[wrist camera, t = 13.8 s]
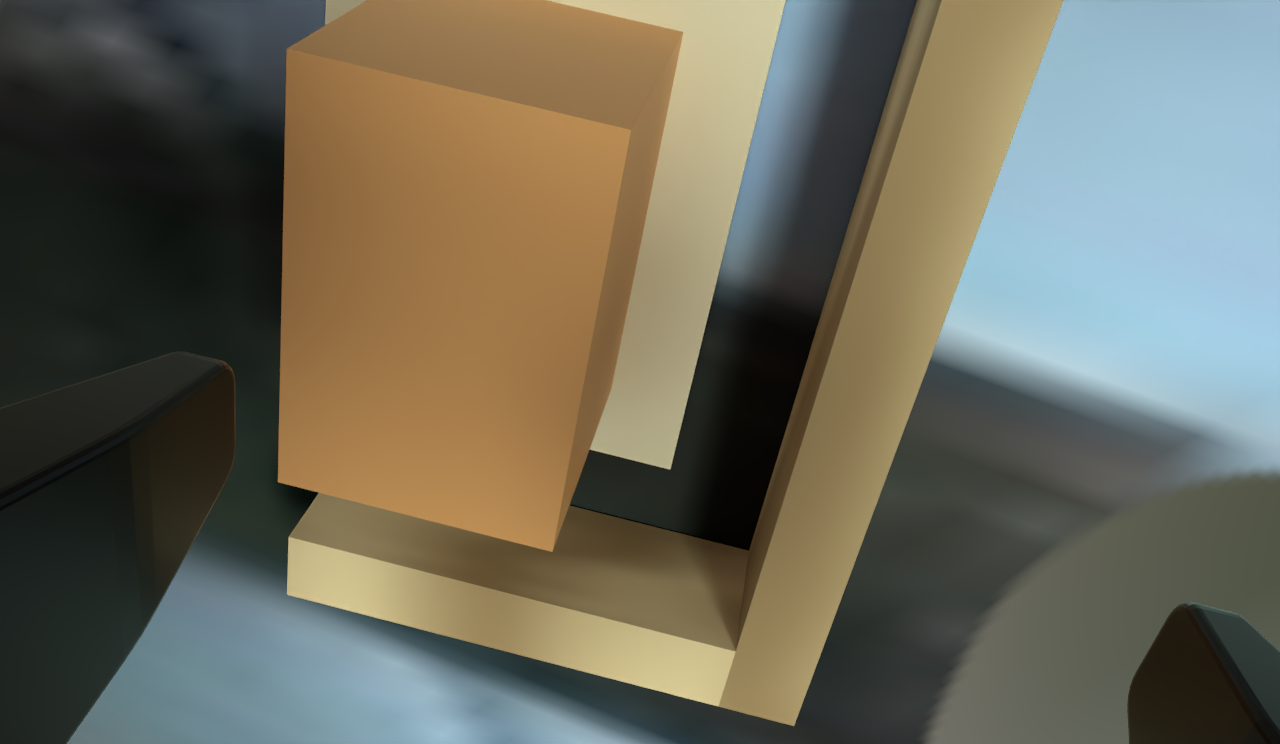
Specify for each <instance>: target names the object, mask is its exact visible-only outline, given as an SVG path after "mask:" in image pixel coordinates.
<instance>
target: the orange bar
mask: <svg viewBox="0 0 1280 744" xmlns="http://www.w3.org/2000/svg"><path fill="white" fill-rule="evenodd" d="M682 37H683V32H682V31H677V30H673V29H669V28H664V27H660V26H656V25H651V24H647V23H643V22H638V21H634V20H630V19H625V18H621V17H617V16H612V15H608V14H604V13H599V12H595V11H591V10H587V9H582V8H578V7H574V6H569V5H565V4H561V3H556V2H552V1H548V0H366V1H365V2H363V3H361V4H360V5H358V6H356V7H355V8H353V9H351V10H350V11H348V12H346V13H345V14H343V15H342V16H340V17H338V18H337V19H335V20H333V21H332V22H330V23H328V24H327V25H325V26H323V27H322V28H320V29H318V30H317V31H315V32H313V33H312V34H310V35H308V36H307V37H305V38H303V39H302V40H300V41H298V42H297V43H295V44H293V45H292V46H290V47H289V48H287V54H286V104H285V154H284V203H283V253H282V303H281V353H280V402H279V452H278V482H279V483H283V484H287V485H291V486H295V487H299V488H303V489H307V490H311V491H315V492H319V493H322V494H326V495H330V496H334V497H338V498H342V499H346V500H350V501H354V502H358V503H362V504H366V505H370V506H374V507H378V508H381V509H385V510H389V511H393V512H397V513H401V514H405V515H409V516H413V517H417V518H421V519H425V520H429V521H433V522H436V523H440V524H444V525H448V526H452V527H456V528H460V529H464V530H468V531H472V532H476V533H480V534H484V535H488V536H492V537H495V538H499V539H503V540H507V541H511V542H515V543H519V544H523V545H527V546H531V547H535V548H539V549H543V550H547V551H550V552H553V549H554V546H555V544H556V541H557V538H558V535H559V532H560V530H561V527H562V524H563V521H564V519H565V516H566V513H567V510H568V508H569V505H570V502H571V499H572V497H573V494H574V491H575V488H576V485H577V483H578V480H579V477H580V474H581V472H582V469H583V466H584V463H585V461H586V458H587V455H588V452H589V450H590V447H591V444H592V441H593V439H594V436H595V433H596V430H597V427H598V425H599V422H600V419H601V416H602V414H603V411H604V408H605V405H606V403H607V400H608V397H609V394H610V392H611V388H612V383H613V379H614V374H615V369H616V364H617V359H618V354H619V349H620V344H621V339H622V334H623V329H624V324H625V319H626V314H627V309H628V304H629V299H630V294H631V289H632V285H633V280H634V275H635V270H636V265H637V260H638V255H639V250H640V245H641V240H642V235H643V230H644V225H645V220H646V215H647V210H648V205H649V200H650V195H651V191H652V186H653V181H654V176H655V171H656V166H657V161H658V156H659V151H660V146H661V141H662V136H663V131H664V126H665V121H666V116H667V111H668V106H669V101H670V97H671V92H672V87H673V82H674V77H675V72H676V67H677V62H678V57H679V52H680V47H681V42H682Z"/></svg>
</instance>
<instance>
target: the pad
mask: <svg viewBox="0 0 1280 744" xmlns="http://www.w3.org/2000/svg"><path fill="white" fill-rule="evenodd" d="M365 1H366V0H326V11H325V25H327V24H328V23H330V22H332V21H333V20H335V19H337V18H338V17H340V16H342V15H343V14H345V13H346V12H348V11H350V10H351V9H353V8H355V7H356V6H358V5H360V4H361V3H363V2H365ZM548 1H552V2H556V3H561V4H565V5H569V6H574V7H578V8H582V9H587V10H591V11H595V12H599V13H604V14H608V15H612V16H617V17H621V18H625V19H630V20H634V21H638V22H643V23H647V24H651V25H656V26H660V27H664V28H669V29H673V30H677V31H682V32H683V37H682V42H681V47H680V52H679V57H678V62H677V67H676V72H675V77H674V82H673V87H672V92H671V97H670V101H669V106H668V111H667V116H666V121H665V126H664V131H663V136H662V141H661V146H660V151H659V156H658V161H657V166H656V171H655V176H654V181H653V186H652V191H651V195H650V200H649V205H648V210H647V215H646V220H645V225H644V230H643V235H642V240H641V245H640V250H639V255H638V260H637V265H636V270H635V275H634V280H633V285H632V289H631V294H630V299H629V304H628V309H627V314H626V319H625V324H624V329H623V334H622V339H621V344H620V349H619V354H618V359H617V364H616V369H615V374H614V379H613V383H612V388H611V392H610V394H609V397H608V400H607V403H606V405H605V408H604V411H603V414H602V416H601V419H600V422H599V425H598V427H597V430H596V433H595V436H594V439H593V441H592V444H591V447H590V450H594V451H598V452H602V453H606V454H610V455H614V456H618V457H622V458H626V459H630V460H634V461H638V462H642V463H646V464H650V465H654V466H658V467H662V468H666V469H671V465H672V461H673V457H674V453H675V449H676V445H677V441H678V437H679V432H680V428H681V424H682V420H683V416H684V412H685V408H686V404H687V400H688V396H689V392H690V388H691V384H692V380H693V375H694V371H695V367H696V363H697V359H698V355H699V351H700V347H701V343H702V339H703V335H704V331H705V327H706V323H707V319H708V314H709V310H710V306H711V302H712V298H713V294H714V290H715V286H716V282H717V278H718V274H719V270H720V266H721V262H722V257H723V253H724V249H725V245H726V241H727V237H728V233H729V229H730V225H731V221H732V217H733V213H734V209H735V205H736V201H737V196H738V192H739V188H740V184H741V180H742V176H743V172H744V168H745V164H746V160H747V156H748V152H749V148H750V144H751V139H752V135H753V131H754V127H755V123H756V119H757V115H758V111H759V107H760V103H761V99H762V95H763V91H764V87H765V82H766V78H767V74H768V70H769V66H770V62H771V58H772V54H773V50H774V46H775V42H776V38H777V34H778V30H779V26H780V21H781V17H782V13H783V9H784V5H785V1H786V0H548Z"/></svg>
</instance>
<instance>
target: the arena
mask: <svg viewBox="0 0 1280 744" xmlns="http://www.w3.org/2000/svg"><path fill="white" fill-rule="evenodd" d="M1062 3H1063V0H917V1H916V5H915V8H914V11H913V15H912V18H911V21H910V24H909V28H908V31H907V34H906V37H905V41H904V44H903V47H902V51H901V54H900V57H899V60H898V64H897V67H896V70H895V74H894V77H893V80H892V83H891V87H890V90H889V93H888V96H887V100H886V103H885V106H884V110H883V113H882V116H881V119H880V123H879V126H878V129H877V133H876V136H875V139H874V142H873V146H872V149H871V152H870V155H869V159H868V162H867V165H866V169H865V172H864V175H863V178H862V182H861V185H860V188H859V192H858V195H857V198H856V201H855V205H854V208H853V211H852V214H851V218H850V221H849V224H848V228H847V231H846V234H845V237H844V241H843V244H842V247H841V251H840V254H839V257H838V260H837V264H836V267H835V270H834V273H833V277H832V280H831V283H830V287H829V290H828V293H827V296H826V300H825V303H824V306H823V310H822V313H821V316H820V319H819V323H818V326H817V329H816V332H815V336H814V339H813V342H812V346H811V349H810V352H809V355H808V359H807V362H806V365H805V369H804V372H803V375H802V378H801V382H800V385H799V388H798V391H797V395H796V398H795V401H794V405H793V408H792V411H791V414H790V418H789V421H788V424H787V428H786V431H785V434H784V437H783V441H782V444H781V447H780V450H779V454H778V457H777V460H776V464H775V467H774V470H773V473H772V477H771V480H770V483H769V487H768V490H767V493H766V496H765V500H764V503H763V506H762V510H761V513H760V516H759V519H758V523H757V526H756V529H755V532H754V536H753V539H752V542H751V546H750V549H749V551H748V550H744V549H740V548H736V547H732V546H728V545H724V544H720V543H716V542H712V541H708V540H704V539H700V538H696V537H692V536H689V535H685V534H681V533H677V532H673V531H669V530H665V529H661V528H657V527H653V526H649V525H645V524H641V523H637V522H633V521H629V520H625V519H621V518H617V517H613V516H609V515H605V514H601V513H597V512H593V511H589V510H586V509H582V508H578V507H574V506H570V505H569V508H568V510H567V513H566V516H565V519H564V521H563V524H562V527H561V530H560V532H559V535H558V538H557V541H556V544H555V546H554V549H553V552H550V551H547V550H543V549H539V548H535V547H531V546H527V545H523V544H519V543H515V542H511V541H507V540H503V539H499V538H495V537H492V536H488V535H484V534H480V533H476V532H472V531H468V530H464V529H460V528H456V527H452V526H448V525H444V524H440V523H436V522H433V521H429V520H425V519H421V518H417V517H413V516H409V515H405V514H401V513H397V512H393V511H389V510H385V509H381V508H378V507H374V506H370V505H366V504H362V503H358V502H354V501H350V500H346V499H342V498H338V497H334V496H330V495H326V494H322V493H318V495H317V496H316V498H315V499H314V501H313V502H312V504H311V505H310V507H309V508H308V509H307V511H306V512H305V514H304V515H303V517H302V518H301V520H300V521H299V523H298V524H297V526H296V527H295V528H294V530H293V531H292V533H291V534H290V536H289V544H288V580H287V595H290V596H294V597H298V598H302V599H306V600H310V601H314V602H317V603H321V604H325V605H329V606H333V607H337V608H341V609H344V610H348V611H352V612H356V613H360V614H364V615H368V616H371V617H375V618H379V619H383V620H387V621H391V622H395V623H398V624H402V625H406V626H410V627H414V628H418V629H422V630H425V631H429V632H433V633H437V634H441V635H445V636H449V637H452V638H456V639H460V640H464V641H468V642H472V643H476V644H479V645H483V646H487V647H491V648H495V649H499V650H503V651H506V652H510V653H514V654H518V655H522V656H526V657H530V658H533V659H537V660H541V661H545V662H549V663H553V664H557V665H560V666H564V667H568V668H572V669H576V670H580V671H584V672H587V673H591V674H595V675H599V676H603V677H607V678H611V679H614V680H618V681H622V682H626V683H630V684H634V685H638V686H641V687H645V688H649V689H653V690H657V691H661V692H665V693H668V694H672V695H676V696H680V697H684V698H688V699H692V700H695V701H699V702H703V703H707V704H711V705H715V706H719V707H722V708H726V709H730V710H734V711H738V712H742V713H746V714H749V715H753V716H757V717H761V718H765V719H769V720H773V721H776V722H780V723H784V724H788V725H792V726H794V724H795V722H796V719H797V716H798V714H799V711H800V708H801V706H802V703H803V700H804V698H805V695H806V692H807V689H808V687H809V684H810V681H811V679H812V676H813V673H814V671H815V668H816V665H817V663H818V660H819V657H820V654H821V652H822V649H823V646H824V644H825V641H826V638H827V636H828V633H829V630H830V628H831V625H832V622H833V619H834V617H835V614H836V611H837V609H838V606H839V603H840V601H841V598H842V595H843V593H844V590H845V587H846V584H847V582H848V579H849V576H850V574H851V571H852V568H853V566H854V563H855V560H856V558H857V555H858V552H859V549H860V547H861V544H862V541H863V539H864V536H865V533H866V531H867V528H868V525H869V523H870V520H871V517H872V514H873V512H874V509H875V506H876V504H877V501H878V498H879V496H880V493H881V490H882V488H883V485H884V482H885V479H886V477H887V474H888V471H889V469H890V466H891V463H892V461H893V458H894V455H895V453H896V450H897V447H898V444H899V442H900V439H901V436H902V434H903V431H904V428H905V426H906V423H907V420H908V418H909V415H910V412H911V409H912V407H913V404H914V401H915V399H916V396H917V393H918V391H919V388H920V385H921V383H922V380H923V377H924V374H925V372H926V369H927V366H928V364H929V361H930V358H931V356H932V353H933V350H934V348H935V345H936V342H937V339H938V337H939V334H940V331H941V329H942V326H943V323H944V321H945V318H946V315H947V313H948V310H949V307H950V304H951V302H952V299H953V296H954V294H955V291H956V288H957V286H958V283H959V280H960V278H961V275H962V272H963V269H964V267H965V264H966V261H967V259H968V256H969V253H970V251H971V248H972V245H973V243H974V240H975V237H976V234H977V232H978V229H979V226H980V224H981V221H982V218H983V216H984V213H985V210H986V208H987V205H988V202H989V199H990V197H991V194H992V191H993V189H994V186H995V183H996V181H997V178H998V175H999V173H1000V170H1001V167H1002V164H1003V162H1004V159H1005V156H1006V154H1007V151H1008V148H1009V146H1010V143H1011V140H1012V138H1013V135H1014V132H1015V129H1016V127H1017V124H1018V121H1019V119H1020V116H1021V113H1022V111H1023V108H1024V105H1025V103H1026V100H1027V97H1028V94H1029V92H1030V89H1031V86H1032V84H1033V81H1034V78H1035V76H1036V73H1037V70H1038V67H1039V65H1040V62H1041V59H1042V57H1043V54H1044V51H1045V49H1046V46H1047V43H1048V41H1049V38H1050V35H1051V32H1052V30H1053V27H1054V24H1055V22H1056V19H1057V16H1058V14H1059V11H1060V8H1061V6H1062Z"/></svg>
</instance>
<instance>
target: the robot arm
mask: <svg viewBox="0 0 1280 744" xmlns="http://www.w3.org/2000/svg"><path fill="white" fill-rule="evenodd" d="M235 448H236V420H235V377H234V373H233V370H232V368H231V367H230V366H229V365H228V364H227V363H226V362H224V361H221V360H217V359H213V358H209V357H205V356H201V355H197V354H193V353H189V352H185V351H177V352H172V353H169V354H166V355H163V356H160V357H157V358H154V359H150V360H147V361H144V362H141V363H138V364H135V365H132V366H129V367H125V368H122V369H119V370H116V371H113V372H110V373H107V374H104V375H101V376H97V377H94V378H91V379H88V380H85V381H82V382H79V383H75V384H72V385H69V386H66V387H63V388H60V389H57V390H54V391H50V392H47V393H44V394H41V395H38V396H35V397H32V398H29V399H25V400H22V401H19V402H16V403H13V404H10V405H7V406H4V407H0V744H67V742H68V741H69V739H70V738H71V736H72V735H73V734H74V732H75V731H76V729H77V728H78V726H79V725H80V724H81V722H82V721H83V719H84V718H85V716H86V715H87V714H88V712H89V711H90V709H91V708H92V707H93V705H94V704H95V702H96V701H97V699H98V698H99V697H100V695H101V694H102V692H103V691H104V689H105V688H106V687H107V685H108V684H109V682H110V681H111V680H112V678H113V677H114V675H115V674H116V672H117V671H118V670H119V668H120V667H121V665H122V664H123V662H124V661H125V660H126V658H127V657H128V655H129V654H130V652H131V651H132V649H133V647H134V646H135V644H136V643H137V641H138V640H139V638H140V637H141V635H142V634H143V632H144V630H145V629H146V627H147V625H148V624H149V622H150V620H151V618H152V617H153V615H154V613H155V611H156V610H157V608H158V606H159V604H160V602H161V601H162V599H163V597H164V595H165V593H166V591H167V589H168V588H169V586H170V584H171V582H172V580H173V578H174V577H175V575H176V573H177V571H178V569H179V567H180V565H181V564H182V562H183V560H184V558H185V556H186V554H187V553H188V551H189V549H190V547H191V545H192V543H193V541H194V540H195V538H196V536H197V534H198V532H199V530H200V529H201V527H202V525H203V523H204V521H205V519H206V518H207V516H208V514H209V512H210V510H211V508H212V506H213V505H214V503H215V501H216V499H217V497H218V495H219V494H220V492H221V490H222V488H223V486H224V484H225V482H226V480H227V478H228V476H229V474H230V471H231V469H232V465H233V462H234V457H235ZM1128 728H1129V744H1280V651H1279V650H1278V649H1277V648H1276V647H1275V646H1274V645H1273V644H1271V643H1270V642H1269V641H1268V640H1267V639H1266V638H1265V637H1264V636H1263V635H1262V634H1261V633H1260V632H1259V631H1258V630H1257V629H1255V628H1254V627H1253V626H1252V625H1251V624H1250V623H1249V622H1248V621H1247V620H1246V619H1245V618H1243V617H1242V616H1240V615H1238V614H1236V613H1234V612H1230V611H1226V610H1222V609H1218V608H1213V607H1209V606H1205V605H1201V604H1197V603H1193V602H1187V603H1183V604H1181V605H1178V606H1177V607H1176V608H1175V609H1174V610H1173V611H1172V612H1171V614H1170V615H1169V616H1168V618H1167V620H1166V622H1165V623H1164V625H1163V627H1162V628H1161V630H1160V632H1159V634H1158V635H1157V637H1156V639H1155V641H1154V642H1153V644H1152V646H1151V648H1150V649H1149V651H1148V653H1147V654H1146V656H1145V658H1144V659H1143V661H1142V663H1141V665H1140V666H1139V668H1138V670H1137V671H1136V673H1135V675H1134V677H1133V680H1132V683H1131V686H1130V690H1129V695H1128Z"/></svg>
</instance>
